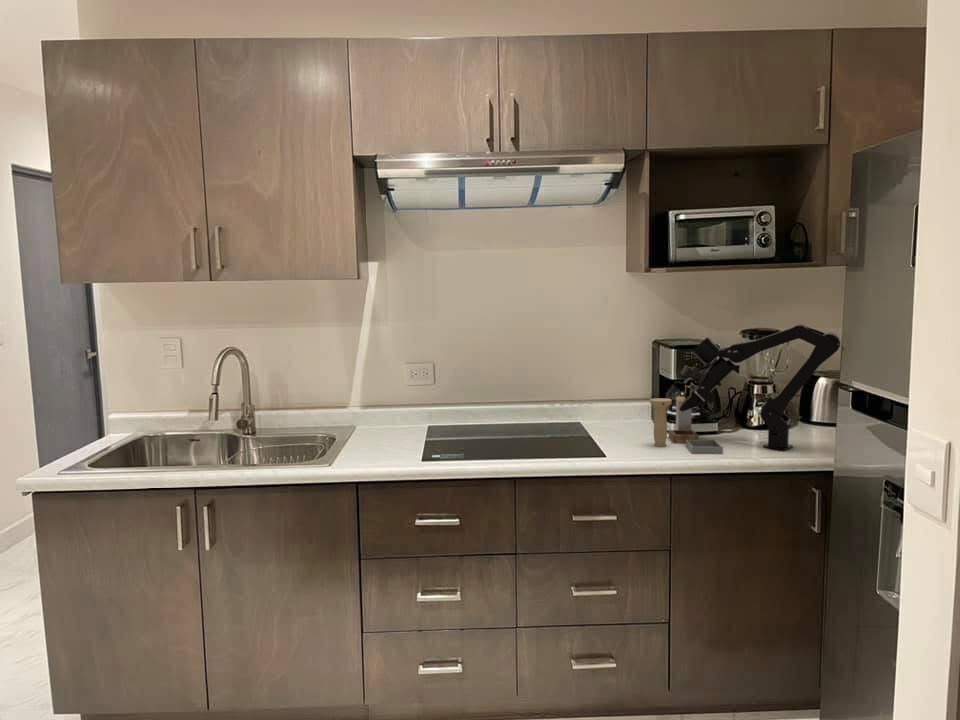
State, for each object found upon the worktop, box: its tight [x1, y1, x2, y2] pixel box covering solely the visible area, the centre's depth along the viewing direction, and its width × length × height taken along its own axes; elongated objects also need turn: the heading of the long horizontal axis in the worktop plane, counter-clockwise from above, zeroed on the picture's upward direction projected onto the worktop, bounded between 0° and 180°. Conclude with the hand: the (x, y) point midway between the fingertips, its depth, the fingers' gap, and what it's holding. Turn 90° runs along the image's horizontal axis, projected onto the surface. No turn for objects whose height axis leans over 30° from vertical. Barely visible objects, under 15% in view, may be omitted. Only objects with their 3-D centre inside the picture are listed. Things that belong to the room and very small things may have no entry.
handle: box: [649, 397, 673, 448], centre depth 207 cm, size 5×6×15 cm
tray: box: [685, 439, 724, 455], centre depth 202 cm, size 9×9×2 cm
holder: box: [666, 429, 699, 445], centre depth 214 cm, size 9×9×3 cm
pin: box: [675, 396, 693, 430], centre depth 213 cm, size 4×4×10 cm
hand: (679, 409), depth 213 cm, fingers closed on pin, 4 cm apart
